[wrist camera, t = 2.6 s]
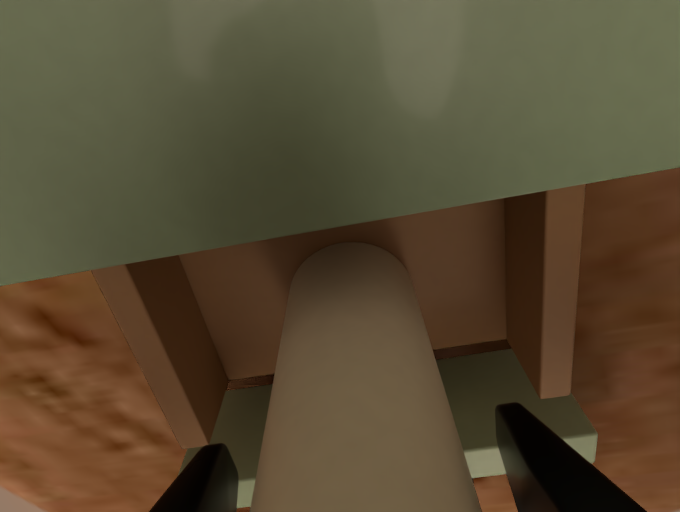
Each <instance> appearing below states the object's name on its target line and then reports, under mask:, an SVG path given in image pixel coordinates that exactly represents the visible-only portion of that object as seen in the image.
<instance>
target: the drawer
mask: <svg viewBox="0 0 680 512" xmlns="http://www.w3.org/2000/svg"><path fill="white" fill-rule="evenodd" d="M585 187H586V184H582V185H576V186H570V187H565V188H559V189H553V190H547V191H542V192H536V193H530V194H524V195H519V196H513V197H507V198H501V199H496V200H490V201H484V202H479V203H473V204H467V205H461V206H456V207H450V208H444V209H438V210H433V211H427V212H421V213H416V214H410V215H404V216H398V217H393V218H387V219H381V220H375V221H370V222H364V223H358V224H352V225H347V226H341V227H335V228H330V229H324V230H318V231H312V232H307V233H301V234H295V235H289V236H284V237H278V238H272V239H267V240H261V241H255V242H249V243H244V244H238V245H232V246H226V247H221V248H215V249H209V250H203V251H198V252H192V253H186V254H181V255H175V256H169V257H163V258H158V259H152V260H146V261H140V262H135V263H129V264H123V265H118V266H112V267H106V268H100V269H95V270H91V272H92V274H93V276H94V277H95V279H96V281H97V283H98V285H99V287H100V289H101V291H102V293H103V295H104V297H105V299H106V301H107V303H108V305H109V307H110V309H111V311H112V313H113V315H114V317H115V319H116V321H117V323H118V325H119V327H120V329H121V331H122V332H123V334H124V336H125V338H126V340H127V342H128V344H129V346H130V348H131V350H132V352H133V354H134V356H135V358H136V360H137V362H138V364H139V366H140V368H141V370H142V372H143V374H144V376H145V378H146V380H147V382H148V384H149V386H150V387H151V389H152V391H153V393H154V395H155V397H156V399H157V401H158V403H159V405H160V407H161V409H162V411H163V413H164V415H165V417H166V419H167V421H168V423H169V425H170V427H171V429H172V431H173V433H174V435H175V437H176V439H177V441H178V442H179V444H180V446H181V448H182V449H187V452H186V455H185V458H184V460H183V463H182V466H181V469H180V472H179V474H180V473H181V472H182V471H183V469H184V468H185V467H186V466H187V464H188V463H189V462H190V461H191V460H192V458H193V457H194V456H195V455H196V453H197V452H198V451H199V450H200V449H201V448H202V447H203V446H205V445H209V444H216V443H224V444H225V445H226V446H227V447H228V450H229V452H230V454H231V456H232V459H233V461H234V463H235V465H236V468H237V471H238V476H239V486H238V498H237V508H241V507H249V506H251V502H252V496H253V491H254V485H255V480H256V474H257V469H258V463H259V458H260V452H261V447H262V441H263V435H264V430H265V424H266V419H267V413H268V408H269V402H270V397H271V391H272V386H273V384H269V385H262V386H256V387H249V388H242V389H236V390H229V391H226V388H227V385H228V381H230V380H237V379H243V378H250V377H257V376H263V375H270V374H275V369H276V364H277V358H278V353H279V347H280V342H281V336H282V330H283V325H284V319H285V314H286V308H287V303H288V297H289V292H290V287H291V282H292V280H293V277H294V275H295V273H296V271H297V270H298V268H299V267H300V266H301V264H302V263H303V262H304V261H305V260H306V259H307V258H308V257H310V256H311V255H313V254H314V253H315V252H317V251H319V250H321V249H323V248H325V247H328V246H331V245H334V244H338V243H345V242H360V243H366V244H371V245H374V246H377V247H380V248H382V249H384V250H386V251H388V252H389V253H391V254H392V255H394V256H395V257H396V258H397V259H398V260H399V261H400V262H401V263H402V264H403V266H404V267H405V268H406V270H407V272H408V273H409V276H410V278H411V281H412V284H413V287H414V291H415V294H416V297H417V301H418V304H419V307H420V310H421V314H422V317H423V320H424V323H425V327H426V330H427V333H428V337H429V340H430V343H431V346H432V350H436V349H443V348H450V347H456V346H463V345H470V344H476V343H483V342H490V341H496V340H503V339H507V341H508V343H509V344H510V346H511V348H512V349H505V350H498V351H492V352H485V353H478V354H471V355H465V356H458V357H451V358H444V359H438V360H436V363H437V366H438V369H439V373H440V376H441V379H442V382H443V386H444V389H445V392H446V396H447V399H448V402H449V405H450V409H451V412H452V415H453V419H454V422H455V425H456V428H457V432H458V435H459V438H460V441H461V445H462V448H463V451H464V455H465V458H466V461H467V464H468V468H469V471H470V474H471V477H472V481H473V478H478V477H486V476H493V475H501V474H506V471H505V467H504V464H503V461H502V458H501V455H500V451H499V448H498V444H497V439H496V423H495V408H496V406H497V405H498V404H504V403H511V402H518V403H520V404H522V405H523V406H524V407H525V408H526V409H528V410H529V411H530V412H531V413H532V414H533V415H535V416H536V417H537V418H538V419H539V420H540V421H542V422H543V423H544V424H545V425H546V426H547V427H549V428H550V429H551V430H552V431H553V432H554V433H556V434H557V435H558V436H559V437H560V438H561V439H563V440H564V441H565V442H566V443H567V444H568V445H570V446H571V447H572V448H573V449H574V450H575V451H577V452H578V453H579V454H580V455H581V456H582V457H584V458H585V459H586V460H587V461H588V462H589V463H593V462H595V455H596V446H597V438H598V433H597V432H596V430H595V429H594V427H593V426H592V424H591V423H590V421H589V419H588V418H587V416H586V415H585V413H584V412H583V410H582V409H581V407H580V406H579V404H578V403H577V401H576V400H575V398H574V397H573V395H572V394H571V379H572V366H573V352H574V338H575V324H576V311H577V297H578V283H579V270H580V256H581V242H582V228H583V215H584V201H585ZM179 474H178V476H179Z"/></svg>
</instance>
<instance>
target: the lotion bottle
mask: <svg viewBox="0 0 680 512" xmlns="http://www.w3.org/2000/svg"><path fill="white" fill-rule="evenodd" d="M250 512H482V510H481V507H480V504H479V500H478V497H477V494H476V491H475V487H474V484H473V481H472V477H471V474H470V471H469V468H468V464H467V461H466V458H465V455H464V451H463V448H462V445H461V441H460V438H459V435H458V432H457V428H456V425H455V422H454V419H453V415H452V412H451V409H450V405H449V402H448V399H447V396H446V392H445V389H444V386H443V382H442V379H441V376H440V373H439V369H438V366H437V363H436V360H435V356H434V353H433V350H432V346H431V343H430V340H429V337H428V333H427V330H426V327H425V323H424V320H423V317H422V314H421V310H420V307H419V304H418V301H417V297H416V294H415V291H414V287H413V284H412V281H411V278H410V276H409V273H408V272H407V270H406V268H405V267H404V266H403V264H402V263H401V262H400V261H399V260H398V259H397V258H396V257H395V256H394V255H392V254H391V253H389V252H388V251H386V250H384V249H382V248H380V247H377V246H374V245H371V244H366V243H360V242H345V243H338V244H334V245H331V246H328V247H325V248H323V249H321V250H319V251H317V252H315V253H314V254H313V255H311V256H310V257H308V258H307V259H306V260H305V261H304V262H303V263H302V264H301V266H300V267H299V268H298V270H297V271H296V273H295V275H294V277H293V280H292V282H291V287H290V292H289V297H288V303H287V308H286V314H285V319H284V325H283V330H282V336H281V342H280V347H279V353H278V358H277V364H276V369H275V375H274V380H273V386H272V391H271V397H270V402H269V408H268V413H267V419H266V424H265V430H264V435H263V441H262V447H261V452H260V458H259V463H258V469H257V474H256V480H255V485H254V491H253V496H252V502H251V507H250Z"/></svg>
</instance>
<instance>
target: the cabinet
mask: <svg viewBox="0 0 680 512" xmlns="http://www.w3.org/2000/svg"><path fill="white" fill-rule="evenodd" d="M679 167H680V0H0V286H3V285H9V284H14V283H20V282H26V281H32V280H37V279H43V278H49V277H54V276H60V275H66V274H72V273H77V272H83V271H89V270H95V269H100V268H106V267H112V266H118V265H123V264H129V263H135V262H140V261H146V260H152V259H158V258H163V257H169V256H175V255H181V254H186V253H192V252H198V251H203V250H209V249H215V248H221V247H226V246H232V245H238V244H244V243H249V242H255V241H261V240H267V239H272V238H278V237H284V236H289V235H295V234H301V233H307V232H312V231H318V230H324V229H330V228H335V227H341V226H347V225H352V224H358V223H364V222H370V221H375V220H381V219H387V218H393V217H398V216H404V215H410V214H416V213H421V212H427V211H433V210H438V209H444V208H450V207H456V206H461V205H467V204H473V203H479V202H484V201H490V200H496V199H501V198H507V197H513V196H519V195H524V194H530V193H536V192H542V191H547V190H553V189H559V188H565V187H570V186H576V185H582V184H587V183H593V182H599V181H605V180H610V179H616V178H622V177H628V176H633V175H639V174H645V173H651V172H656V171H662V170H668V169H673V168H679Z"/></svg>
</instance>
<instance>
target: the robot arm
mask: <svg viewBox="0 0 680 512" xmlns="http://www.w3.org/2000/svg"><path fill="white" fill-rule="evenodd" d="M495 423H496V439H497V444H498V448H499V451H500V455H501V458H502V461H503V464H504V467H505V471H506V474H507V477H508V480H509V484H510V487H511V490H512V493H513V496H514V500H515V503H516V506H517V509H518V512H647V511H646V510H644V509H643V508H642V507H641V506H640V505H639V504H637V503H636V502H635V501H634V500H633V499H632V498H630V497H629V496H628V495H627V494H626V493H625V492H623V491H622V490H621V489H620V488H619V487H618V486H616V485H615V484H614V483H613V482H612V481H611V480H609V479H608V478H607V477H606V476H605V475H604V474H602V473H601V472H600V471H599V470H598V469H597V468H595V467H594V466H593V465H592V464H591V463H589V462H588V461H587V460H586V459H585V458H584V457H582V456H581V455H580V454H579V453H578V452H577V451H575V450H574V449H573V448H572V447H571V446H570V445H568V444H567V443H566V442H565V441H564V440H563V439H561V438H560V437H559V436H558V435H557V434H556V433H554V432H553V431H552V430H551V429H550V428H549V427H547V426H546V425H545V424H544V423H543V422H542V421H540V420H539V419H538V418H537V417H536V416H535V415H533V414H532V413H531V412H530V411H529V410H528V409H526V408H525V407H524V406H523V405H522V404H520V403H518V402H511V403H504V404H498V405H497V406H496V408H495ZM238 486H239V476H238V471H237V468H236V465H235V463H234V461H233V459H232V456H231V454H230V452H229V450H228V447H227V446H226V445H225V444H224V443H216V444H209V445H205V446H203V447H202V448H201V449H200V450H199V451H198V452H197V453H196V455H195V456H194V457H193V458H192V460H191V461H190V462H189V463H188V464H187V466H186V467H185V468H184V469H183V471H182V472H181V473H180V474H179V476H178V477H177V478H176V479H175V480H174V482H173V483H172V484H171V485H170V487H169V488H168V489H167V490H166V491H165V493H164V494H163V495H162V496H161V498H160V499H159V500H158V501H157V502H156V504H155V505H154V506H153V507H152V509H151V510H150V511H149V512H236V510H237V498H238Z"/></svg>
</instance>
